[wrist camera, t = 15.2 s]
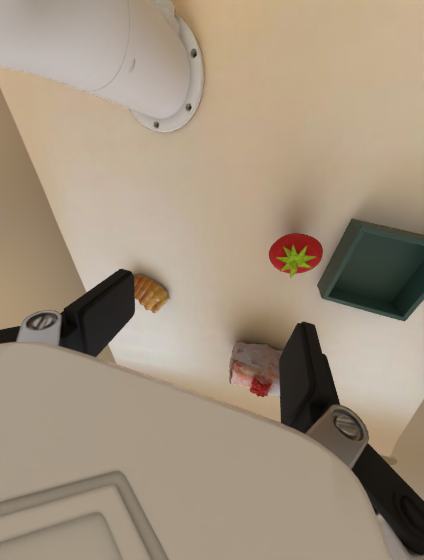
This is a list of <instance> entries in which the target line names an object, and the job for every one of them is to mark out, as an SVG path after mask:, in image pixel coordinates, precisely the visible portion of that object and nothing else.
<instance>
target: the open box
mask: <svg viewBox="0 0 424 560" xmlns="http://www.w3.org/2000/svg"><path fill="white" fill-rule="evenodd" d="M317 286H318V289H319V291H320V294H321V297H322V299H326V300H329V301H333V302H336V303H340V304H344V305H347V306H351V307H354V308H358V309H362V310H365V311H369V312H372V313H376V314H380V315H383V316H387V317H390V318H394V319H398V320H401V321H406V319H407V318H408V317H409V316H410V315H411V314H412V313H413V311H414V310H415V309H416V308H417V307H418V306H419V304H420V303H421V302H422V301H423V300H424V235H421V234H417V233H412V232H408V231H403V230H399V229H395V228H390V227H386V226H382V225H377V224H373V223H369V222H364V221H360V220H356V219H351V221H350V223H349V225H348V227H347V229H346V231H345V233H344V235H343V237H342V239H341V241H340V243H339V245H338V246H337V248H336V250H335V252H334V254H333V256H332V258H331V260H330V262H329V264H328V266H327V268H326V270H325V272H324V274H323V276H322V278H321V279H320V281H319V283H318V285H317Z"/></svg>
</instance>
